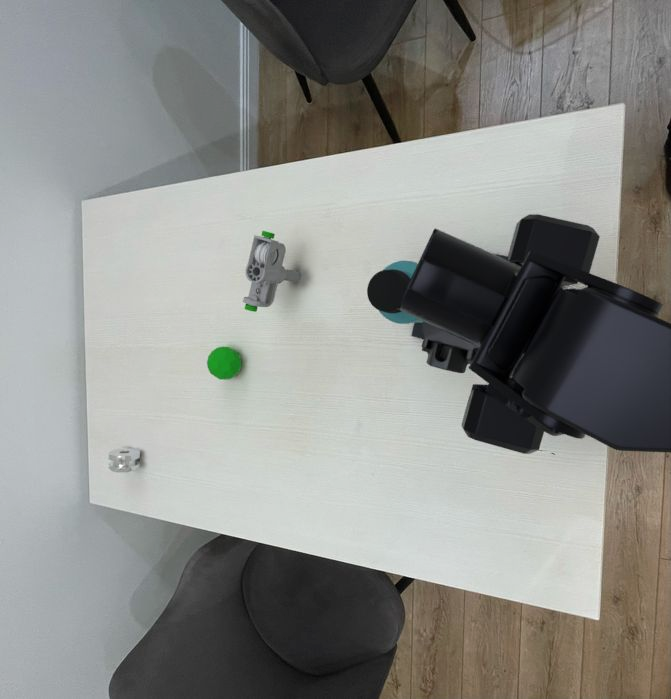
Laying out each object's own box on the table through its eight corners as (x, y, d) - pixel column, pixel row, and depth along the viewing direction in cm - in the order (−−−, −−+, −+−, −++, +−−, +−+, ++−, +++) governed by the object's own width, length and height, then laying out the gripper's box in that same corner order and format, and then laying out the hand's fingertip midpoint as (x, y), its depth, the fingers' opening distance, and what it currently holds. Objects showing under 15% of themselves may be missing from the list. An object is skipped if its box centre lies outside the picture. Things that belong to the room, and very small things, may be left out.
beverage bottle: (482, 286, 65) (433, 274, 47) (454, 333, 66) (397, 339, 49) (437, 260, 67) (374, 240, 49) (411, 307, 69) (341, 303, 51)
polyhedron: (217, 368, 85) (196, 371, 80) (227, 340, 83) (206, 341, 79) (240, 383, 83) (220, 387, 78) (251, 354, 82) (231, 357, 77)
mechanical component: (279, 307, 79) (236, 306, 70) (296, 238, 77) (254, 228, 68) (295, 313, 78) (254, 313, 69) (313, 243, 76) (273, 233, 67)
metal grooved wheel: (146, 451, 93) (123, 457, 88) (146, 467, 93) (122, 475, 89) (125, 446, 95) (102, 452, 91) (125, 462, 95) (101, 470, 91)
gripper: (470, 175, 37) (452, 221, 53) (401, 433, 38) (403, 404, 54) (635, 211, 36) (568, 247, 51) (558, 478, 37) (515, 435, 53)
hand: (509, 334), depth 52 cm, fingers open, 9 cm apart
